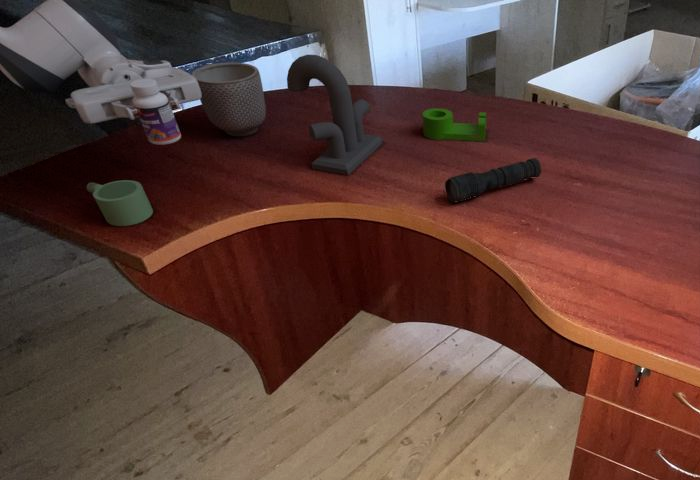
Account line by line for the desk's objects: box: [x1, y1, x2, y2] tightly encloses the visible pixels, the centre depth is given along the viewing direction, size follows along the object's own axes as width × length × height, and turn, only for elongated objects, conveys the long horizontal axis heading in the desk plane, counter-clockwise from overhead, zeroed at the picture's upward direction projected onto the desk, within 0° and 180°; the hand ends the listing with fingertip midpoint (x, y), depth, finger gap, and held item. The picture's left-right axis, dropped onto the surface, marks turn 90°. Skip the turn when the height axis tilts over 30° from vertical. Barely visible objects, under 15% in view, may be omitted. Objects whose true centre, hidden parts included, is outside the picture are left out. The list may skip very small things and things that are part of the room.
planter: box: [191, 61, 267, 137], centre depth 122 cm, size 14×14×13 cm
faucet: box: [286, 54, 384, 176], centre depth 114 cm, size 18×16×20 cm
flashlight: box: [444, 157, 542, 204], centre depth 109 cm, size 5×21×5 cm, turn 124°
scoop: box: [86, 179, 154, 227], centre depth 97 cm, size 12×8×5 cm, turn 65°
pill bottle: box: [130, 79, 182, 146], centre depth 94 cm, size 5×5×10 cm
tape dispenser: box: [422, 107, 487, 142], centre depth 129 cm, size 15×7×5 cm, turn 89°
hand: (155, 109), depth 93 cm, fingers closed on pill bottle, 5 cm apart
